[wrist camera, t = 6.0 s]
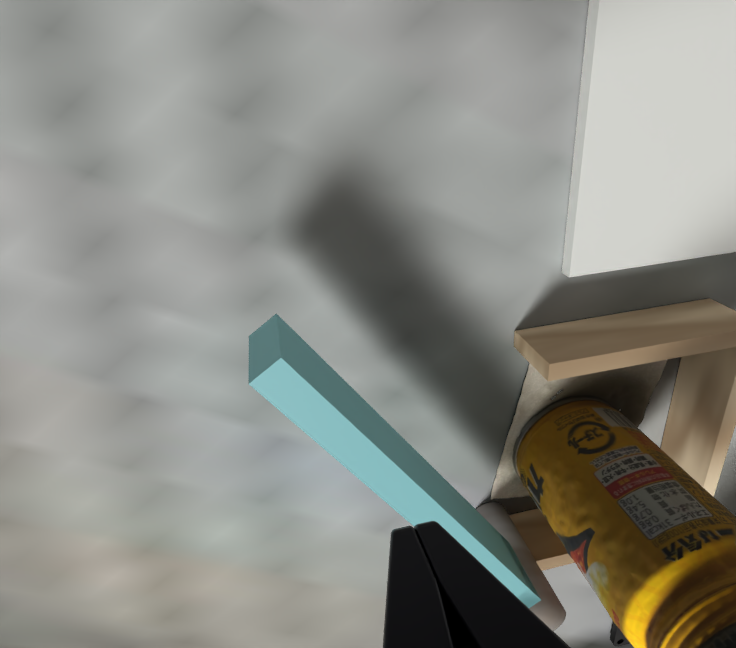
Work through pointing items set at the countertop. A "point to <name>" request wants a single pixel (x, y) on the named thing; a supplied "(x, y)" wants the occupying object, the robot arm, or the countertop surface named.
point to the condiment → (624, 507)
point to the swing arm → (373, 448)
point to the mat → (654, 136)
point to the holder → (685, 418)
